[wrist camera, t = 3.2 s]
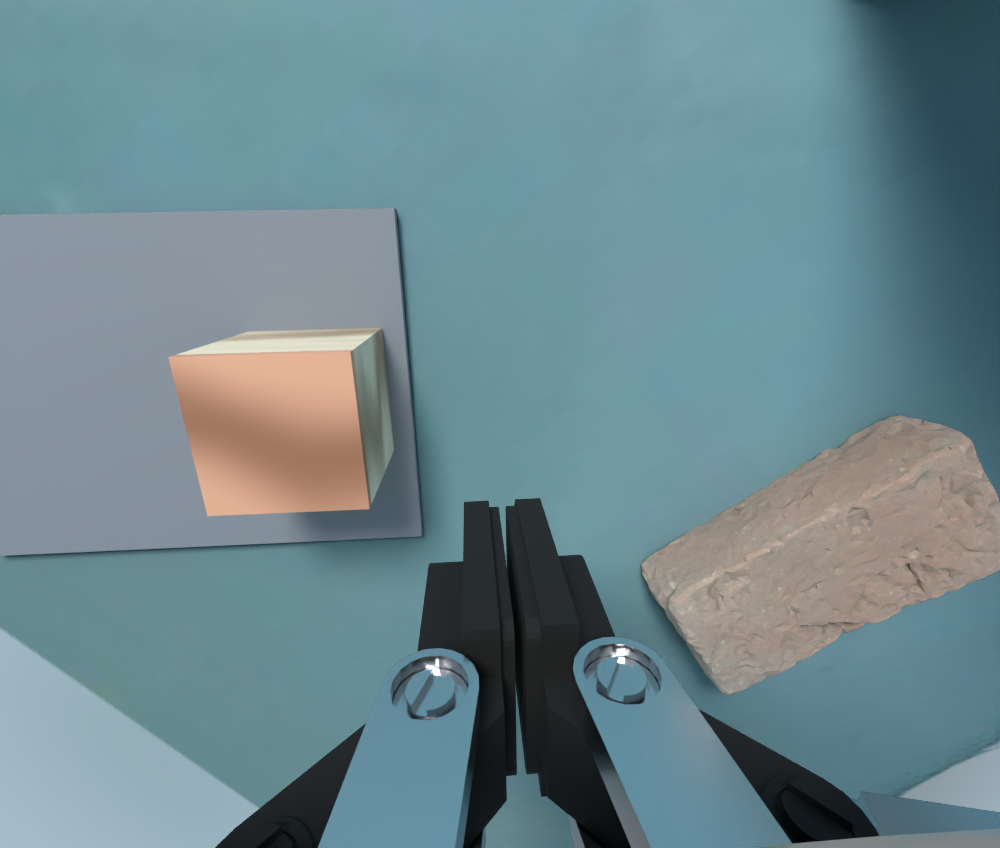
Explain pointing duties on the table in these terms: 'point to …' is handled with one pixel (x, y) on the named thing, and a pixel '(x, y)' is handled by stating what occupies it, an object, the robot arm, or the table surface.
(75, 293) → the mat
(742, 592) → the brick
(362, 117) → the table surface
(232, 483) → the cube
